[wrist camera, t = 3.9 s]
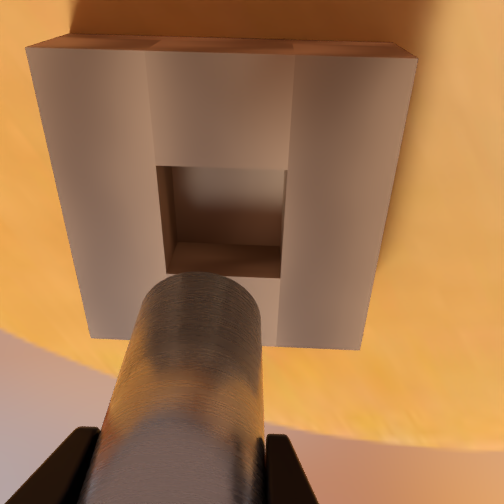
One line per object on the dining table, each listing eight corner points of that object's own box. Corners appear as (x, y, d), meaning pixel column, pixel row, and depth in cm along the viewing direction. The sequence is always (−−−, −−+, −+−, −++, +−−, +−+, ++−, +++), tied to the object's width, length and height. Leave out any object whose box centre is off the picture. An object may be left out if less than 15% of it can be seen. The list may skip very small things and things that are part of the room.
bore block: (392, 42, 17) (418, 58, 14) (348, 301, 23) (359, 350, 20) (68, 33, 17) (24, 47, 14) (114, 291, 23) (91, 338, 20)
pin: (264, 273, 11) (284, 741, 4) (257, 365, 13) (266, 807, 6) (133, 269, 11) (-49, 738, 4) (145, 362, 13) (26, 806, 6)
